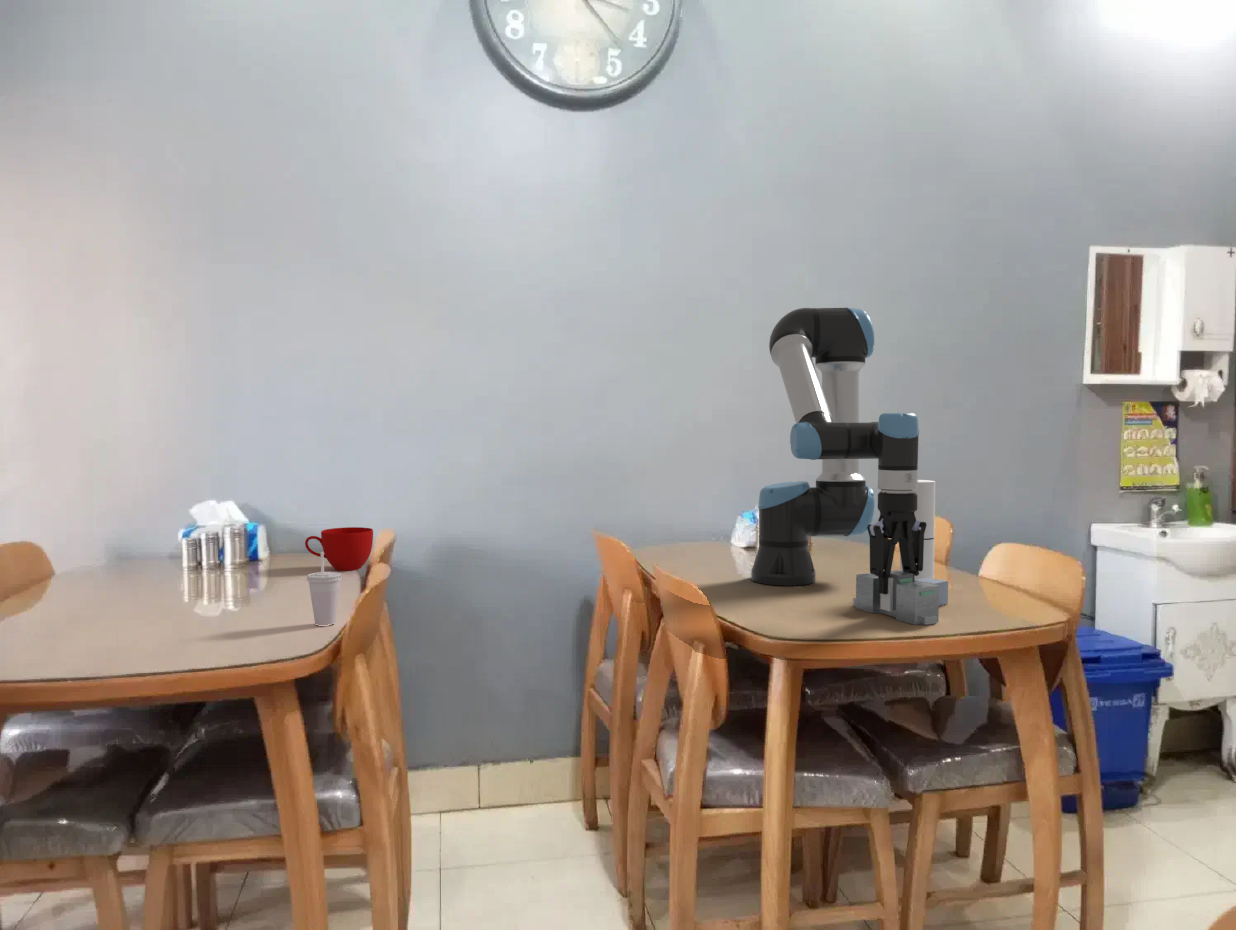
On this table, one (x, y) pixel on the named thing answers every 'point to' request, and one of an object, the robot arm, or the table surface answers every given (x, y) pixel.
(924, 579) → the loose block slate
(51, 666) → the table surface
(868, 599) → the grey stepped block assembly
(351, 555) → the ceramic cup
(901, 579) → the block
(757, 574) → the robot arm
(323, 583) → the smoothie
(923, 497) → the cylindrical container
